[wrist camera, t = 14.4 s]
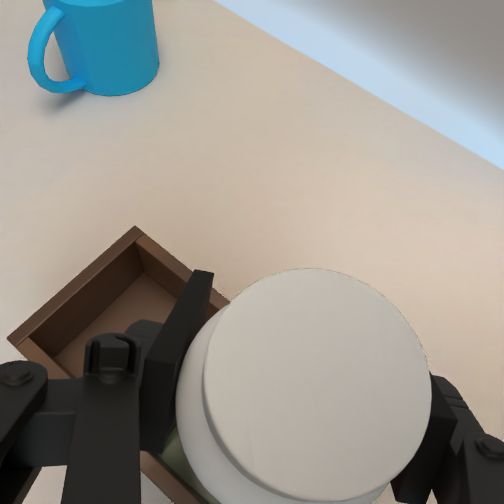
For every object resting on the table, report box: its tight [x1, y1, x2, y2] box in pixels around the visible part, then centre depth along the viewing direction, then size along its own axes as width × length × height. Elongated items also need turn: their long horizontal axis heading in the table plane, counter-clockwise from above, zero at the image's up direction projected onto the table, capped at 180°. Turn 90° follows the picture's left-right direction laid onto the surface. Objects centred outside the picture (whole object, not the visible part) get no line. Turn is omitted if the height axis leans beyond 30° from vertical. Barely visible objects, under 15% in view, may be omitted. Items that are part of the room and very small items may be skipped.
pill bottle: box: [175, 268, 432, 504], centre depth 14 cm, size 6×6×11 cm
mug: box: [27, 0, 159, 96], centre depth 36 cm, size 12×8×8 cm
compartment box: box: [7, 226, 230, 504], centre depth 25 cm, size 18×9×5 cm, turn 51°
